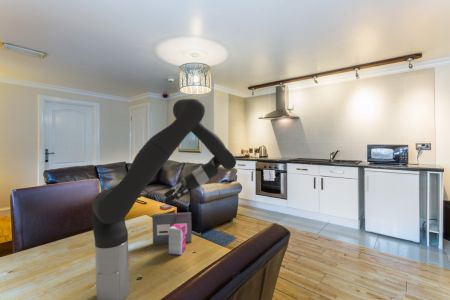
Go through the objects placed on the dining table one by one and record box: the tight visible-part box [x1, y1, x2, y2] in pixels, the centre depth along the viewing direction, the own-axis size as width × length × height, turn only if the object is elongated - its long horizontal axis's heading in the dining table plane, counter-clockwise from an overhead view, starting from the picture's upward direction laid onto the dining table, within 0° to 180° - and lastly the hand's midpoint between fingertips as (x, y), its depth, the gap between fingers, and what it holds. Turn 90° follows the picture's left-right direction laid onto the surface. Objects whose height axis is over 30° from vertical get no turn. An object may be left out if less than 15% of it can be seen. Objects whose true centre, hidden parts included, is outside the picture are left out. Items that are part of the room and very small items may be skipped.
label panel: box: [151, 211, 193, 246], centre depth 109 cm, size 2×18×14 cm, turn 98°
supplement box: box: [168, 224, 187, 257], centre depth 99 cm, size 6×6×12 cm
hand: (165, 198), depth 100 cm, fingers open, 8 cm apart
